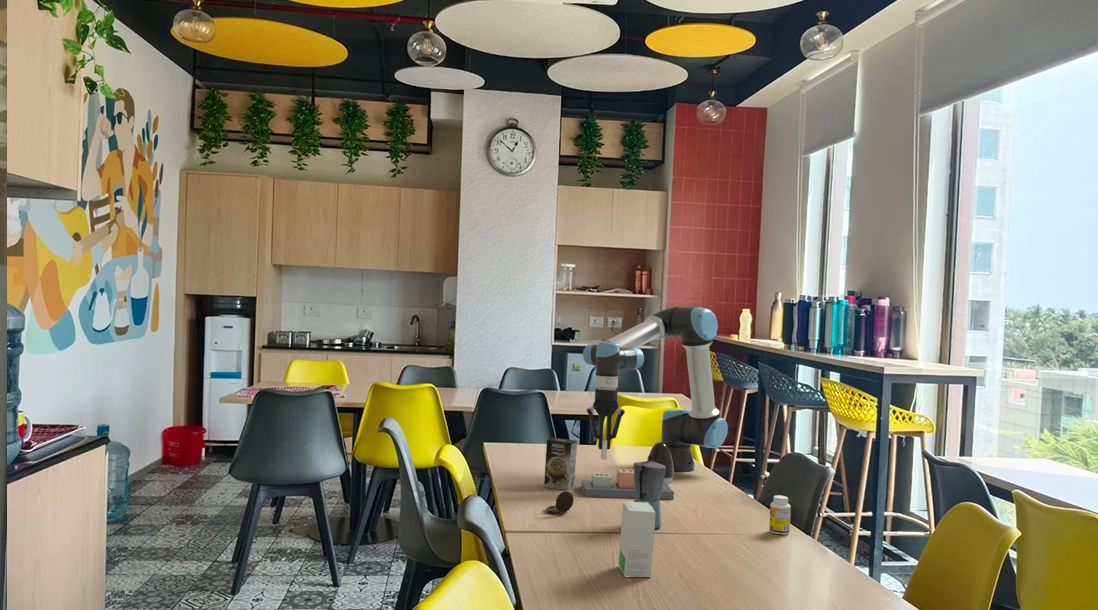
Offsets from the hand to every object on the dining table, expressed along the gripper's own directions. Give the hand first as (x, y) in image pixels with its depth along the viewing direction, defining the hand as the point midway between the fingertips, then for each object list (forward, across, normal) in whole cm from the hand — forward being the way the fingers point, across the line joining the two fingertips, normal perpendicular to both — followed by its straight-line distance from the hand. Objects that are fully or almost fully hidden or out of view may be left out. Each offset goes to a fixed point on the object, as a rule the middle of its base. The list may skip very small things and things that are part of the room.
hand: (603, 459), depth 267 cm
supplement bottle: (+12, +45, -42) cm, 63 cm away
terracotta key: (+9, +8, 0) cm, 12 cm away
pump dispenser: (+12, +22, +15) cm, 29 cm away
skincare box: (+10, -3, -80) cm, 81 cm away
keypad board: (+11, +8, 0) cm, 14 cm away
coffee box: (+11, -14, +6) cm, 19 cm away
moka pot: (+11, +7, -40) cm, 42 cm away
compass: (+11, -18, -29) cm, 36 cm away
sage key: (+10, -1, 0) cm, 10 cm away
